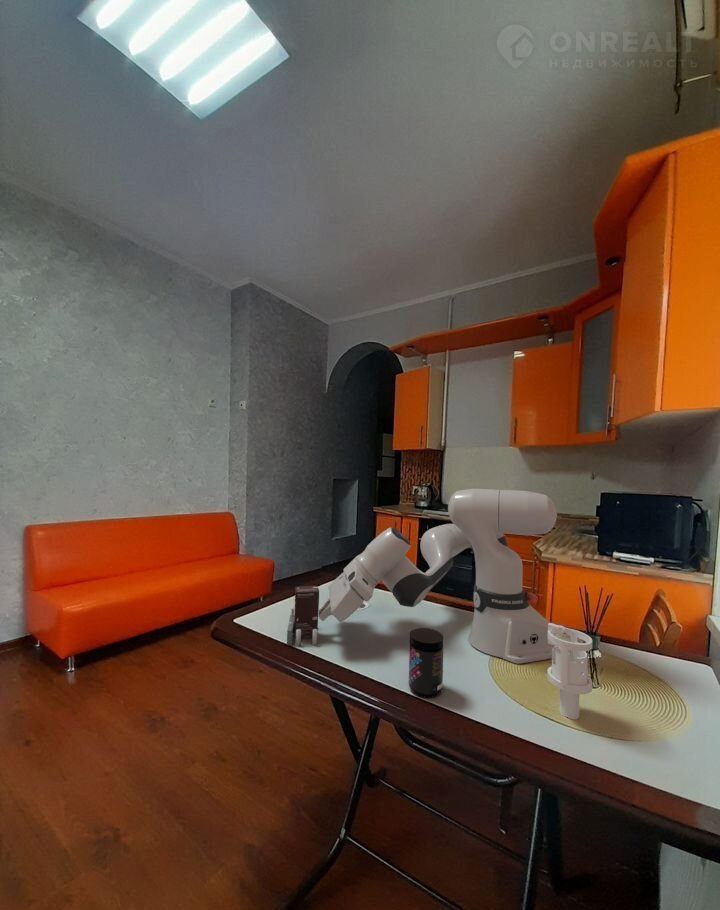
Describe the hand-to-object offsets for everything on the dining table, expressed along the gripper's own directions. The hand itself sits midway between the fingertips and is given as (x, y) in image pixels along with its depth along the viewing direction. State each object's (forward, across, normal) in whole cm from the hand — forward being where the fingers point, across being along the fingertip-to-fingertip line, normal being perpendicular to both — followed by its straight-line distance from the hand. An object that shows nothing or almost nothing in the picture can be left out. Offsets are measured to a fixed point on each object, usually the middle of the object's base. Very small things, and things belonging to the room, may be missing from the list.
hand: (320, 616), depth 93 cm
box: (+6, 0, +1) cm, 6 cm away
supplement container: (-11, +24, +18) cm, 32 cm away
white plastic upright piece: (-28, +33, +35) cm, 56 cm away
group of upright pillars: (+7, 0, 0) cm, 7 cm away
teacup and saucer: (-6, -24, +13) cm, 28 cm away
